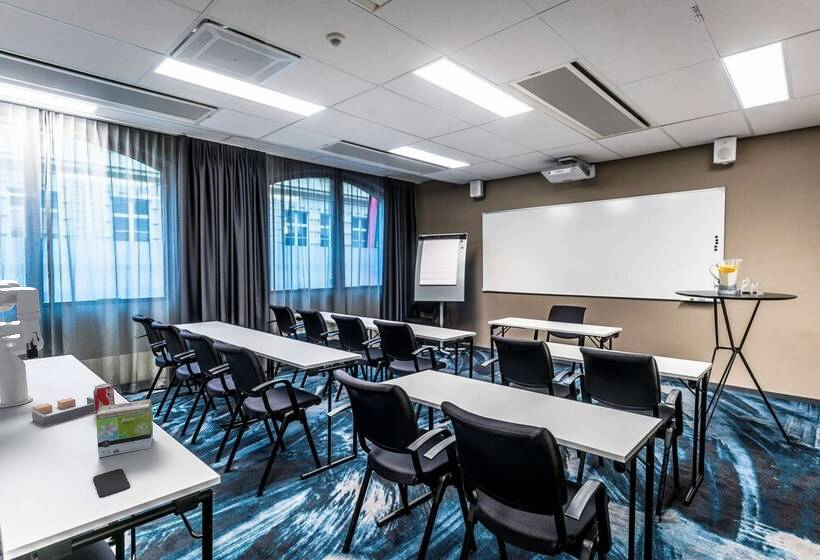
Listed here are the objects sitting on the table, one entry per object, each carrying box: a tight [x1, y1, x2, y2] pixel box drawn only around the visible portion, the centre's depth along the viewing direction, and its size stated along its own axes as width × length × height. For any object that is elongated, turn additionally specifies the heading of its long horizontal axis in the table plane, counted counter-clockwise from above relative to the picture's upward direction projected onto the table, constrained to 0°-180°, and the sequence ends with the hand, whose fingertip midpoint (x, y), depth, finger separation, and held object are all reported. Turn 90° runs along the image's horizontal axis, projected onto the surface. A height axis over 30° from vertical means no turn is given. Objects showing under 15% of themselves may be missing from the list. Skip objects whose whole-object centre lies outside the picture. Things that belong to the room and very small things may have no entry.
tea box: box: [95, 398, 154, 459], centre depth 146 cm, size 15×10×15 cm, turn 117°
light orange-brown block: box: [32, 402, 53, 415], centre depth 184 cm, size 5×5×3 cm
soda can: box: [92, 383, 116, 415], centre depth 179 cm, size 7×7×12 cm
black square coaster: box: [92, 468, 131, 498], centre depth 123 cm, size 7×1×15 cm
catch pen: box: [31, 396, 95, 427], centre depth 180 cm, size 13×20×4 cm, turn 148°
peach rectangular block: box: [56, 397, 77, 410], centre depth 190 cm, size 5×5×3 cm
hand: (32, 357), depth 187 cm, fingers closed
